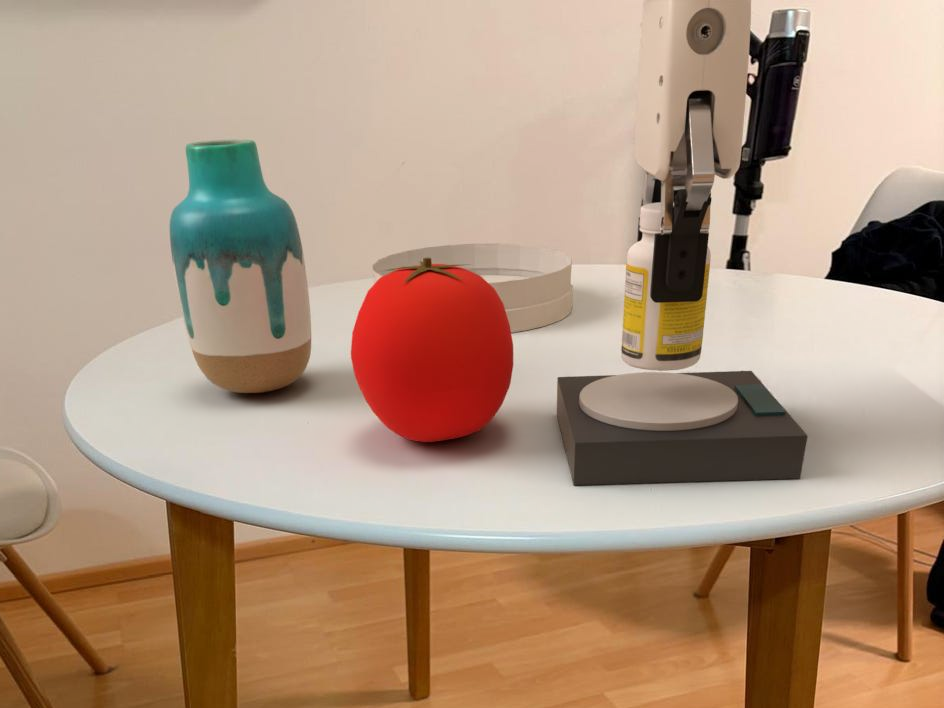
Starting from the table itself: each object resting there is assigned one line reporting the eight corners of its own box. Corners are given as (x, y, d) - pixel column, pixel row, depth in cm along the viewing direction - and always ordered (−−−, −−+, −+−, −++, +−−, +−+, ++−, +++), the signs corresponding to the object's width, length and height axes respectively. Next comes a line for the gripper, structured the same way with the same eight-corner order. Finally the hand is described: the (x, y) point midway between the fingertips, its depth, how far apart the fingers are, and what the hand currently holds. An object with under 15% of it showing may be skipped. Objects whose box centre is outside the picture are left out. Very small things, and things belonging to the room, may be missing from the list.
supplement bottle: (710, 355, 64) (728, 201, 58) (684, 377, 60) (700, 214, 54) (637, 346, 66) (647, 198, 61) (608, 367, 62) (616, 210, 57)
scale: (746, 408, 72) (752, 362, 70) (800, 478, 60) (809, 426, 58) (556, 414, 72) (557, 368, 70) (573, 485, 60) (575, 433, 59)
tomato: (444, 399, 76) (436, 237, 69) (547, 432, 69) (550, 255, 62) (324, 439, 69) (302, 264, 62) (425, 481, 62) (412, 287, 55)
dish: (511, 346, 89) (510, 292, 86) (333, 322, 99) (328, 274, 96) (605, 297, 104) (607, 250, 102) (443, 281, 114) (441, 238, 112)
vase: (304, 364, 86) (275, 133, 76) (332, 397, 78) (303, 142, 67) (190, 380, 83) (143, 142, 72) (206, 416, 75) (155, 152, 64)
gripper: (812, -72, 43) (757, 321, 53) (727, -43, 58) (696, 262, 67) (654, -65, 43) (628, 325, 53) (608, -38, 58) (594, 265, 68)
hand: (666, 286), depth 60 cm, fingers closed on supplement bottle, 5 cm apart
